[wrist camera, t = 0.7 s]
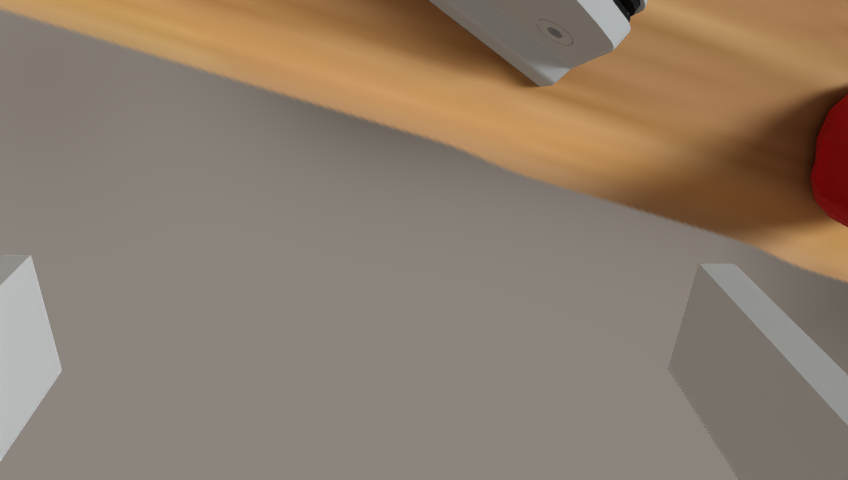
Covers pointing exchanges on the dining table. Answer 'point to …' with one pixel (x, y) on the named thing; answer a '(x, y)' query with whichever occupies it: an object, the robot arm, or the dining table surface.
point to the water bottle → (832, 164)
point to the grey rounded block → (545, 30)
